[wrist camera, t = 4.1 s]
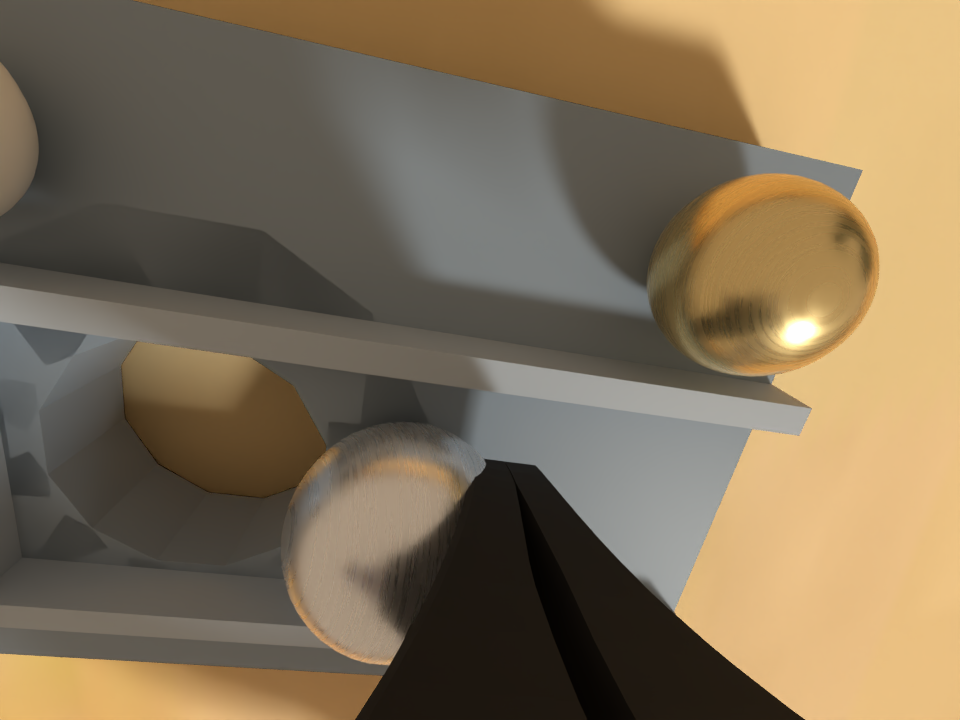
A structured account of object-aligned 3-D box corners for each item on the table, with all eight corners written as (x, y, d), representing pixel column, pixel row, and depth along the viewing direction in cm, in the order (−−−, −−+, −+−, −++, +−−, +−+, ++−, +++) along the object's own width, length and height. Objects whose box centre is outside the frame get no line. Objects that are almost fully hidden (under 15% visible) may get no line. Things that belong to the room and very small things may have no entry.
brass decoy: (806, 193, 9) (994, 197, 6) (743, 352, 10) (875, 423, 7) (648, 159, 8) (763, 143, 5) (600, 328, 9) (674, 394, 6)
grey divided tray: (773, 173, 11) (942, 166, 7) (610, 615, 16) (663, 749, 12) (-35, -9, 9) (-388, -153, 5) (51, 570, 13) (-100, 718, 10)
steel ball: (590, 510, 7) (324, 501, 5) (507, 705, 8) (255, 755, 6) (486, 401, 11) (302, 372, 9) (436, 547, 12) (260, 550, 10)
